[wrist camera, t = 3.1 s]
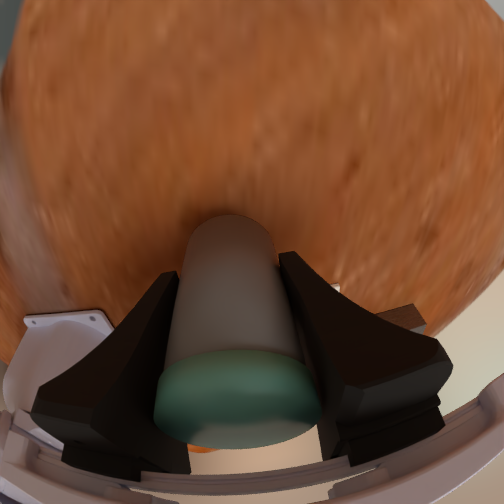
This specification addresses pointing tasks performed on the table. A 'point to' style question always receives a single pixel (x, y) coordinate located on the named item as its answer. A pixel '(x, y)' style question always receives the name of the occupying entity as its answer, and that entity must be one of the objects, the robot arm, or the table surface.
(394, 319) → the button base
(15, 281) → the table surface
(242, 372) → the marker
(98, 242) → the table surface
